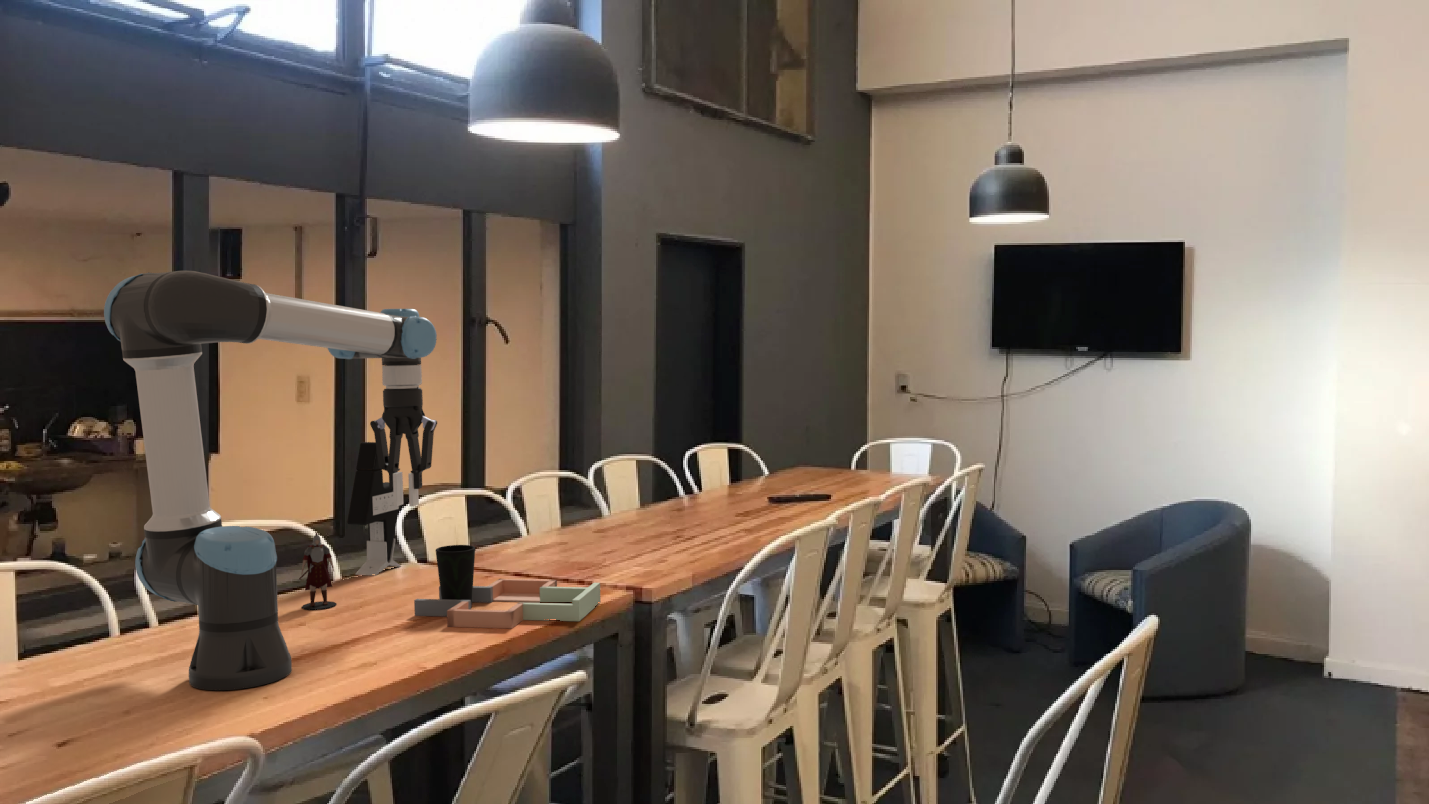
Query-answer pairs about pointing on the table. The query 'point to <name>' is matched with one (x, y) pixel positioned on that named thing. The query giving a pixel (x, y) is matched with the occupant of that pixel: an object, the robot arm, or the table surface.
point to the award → (373, 510)
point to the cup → (456, 571)
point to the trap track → (514, 592)
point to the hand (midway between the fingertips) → (406, 505)
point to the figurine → (317, 574)
